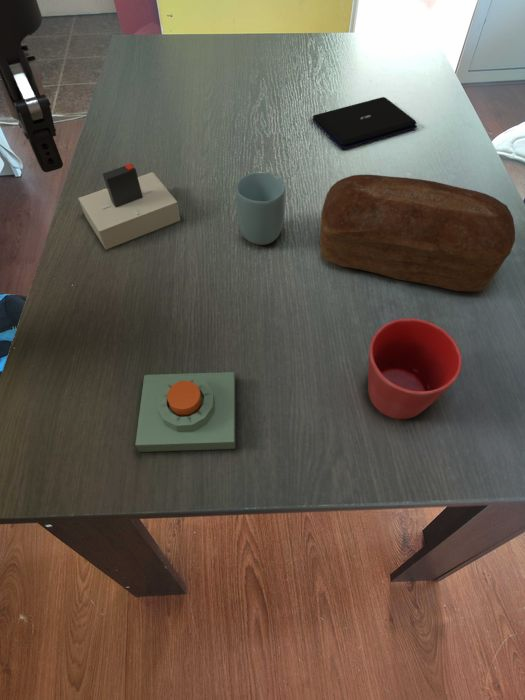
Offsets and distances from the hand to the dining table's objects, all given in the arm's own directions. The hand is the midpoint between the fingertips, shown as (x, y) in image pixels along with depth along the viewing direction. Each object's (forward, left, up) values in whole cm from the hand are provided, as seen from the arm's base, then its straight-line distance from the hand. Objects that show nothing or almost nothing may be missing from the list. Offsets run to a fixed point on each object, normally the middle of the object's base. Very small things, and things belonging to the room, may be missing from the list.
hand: (51, 166), depth 48 cm
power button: (+2, -20, -22) cm, 30 cm away
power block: (+2, -20, -26) cm, 33 cm away
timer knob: (+11, +20, -22) cm, 32 cm away
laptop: (+65, +22, -26) cm, 73 cm away
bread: (+45, -13, -26) cm, 54 cm away
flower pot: (+27, -32, -26) cm, 49 cm away
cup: (+28, +4, -26) cm, 39 cm away
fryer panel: (+11, +20, -26) cm, 35 cm away
